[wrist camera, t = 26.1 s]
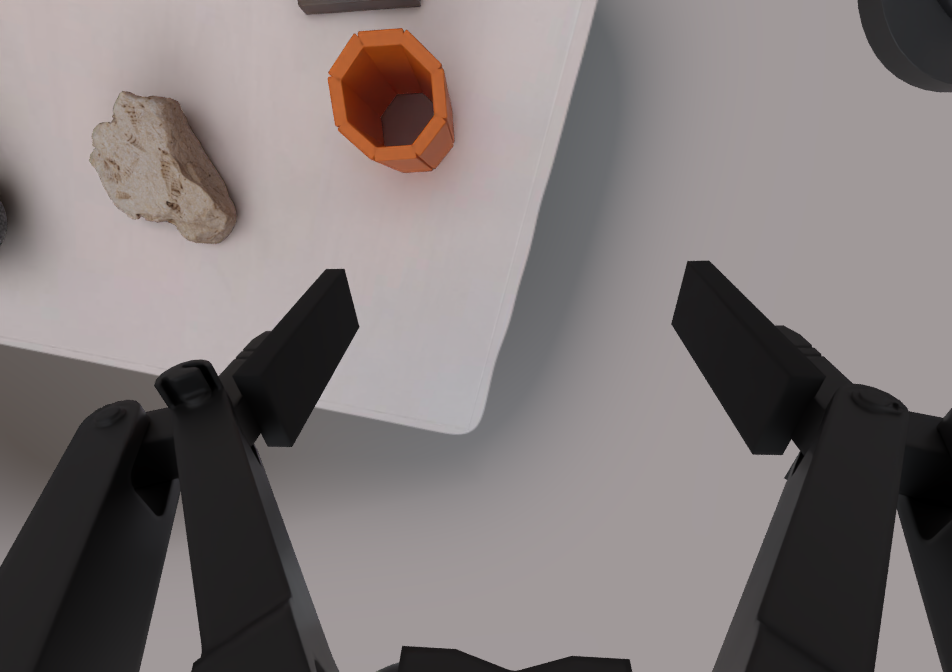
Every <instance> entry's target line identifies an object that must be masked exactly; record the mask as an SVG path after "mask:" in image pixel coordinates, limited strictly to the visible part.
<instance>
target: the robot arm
mask: <svg viewBox="0 0 952 672" xmlns="http://www.w3.org/2000/svg"><path fill="white" fill-rule="evenodd" d="M938 1H939V3H940V5H941V7H942V8H943V10H944V11H945V12H946V14H947V15H948V16H949V17H950V18H951V19H952V0H938ZM672 326H673V327H674V329H675V331H676V332H677V334H678V335H679V337H680V339H681V340H682V342H683V343H684V345H685V347H686V348H687V350H688V351H689V353H690V355H691V356H692V358H693V360H694V361H695V363H696V364H697V366H698V368H699V369H700V371H701V372H702V374H703V376H704V377H705V379H706V380H707V382H708V384H709V385H710V387H711V388H712V390H713V392H714V393H715V395H716V396H717V398H718V400H719V401H720V403H721V404H722V406H723V407H724V409H725V411H726V412H727V414H728V416H729V417H730V419H731V420H732V422H733V424H734V425H735V427H736V428H737V430H738V432H739V433H740V435H741V437H742V438H743V440H744V441H745V443H746V444H747V446H748V447H749V449H750V451H751V453H752V454H756V455H760V454H761V455H783V453H784V451H785V449H786V448H787V446H788V444H789V442H790V441H791V439H792V440H793V441H794V443H795V444H796V446H797V447H798V448H799V450H800V452H799V454H798V456H797V457H796V459H795V461H794V463H793V464H792V466H791V468H790V470H789V471H788V473H787V474H786V476H785V479H787V482H786V484H785V487H784V489H783V492H782V494H781V497H780V500H779V502H778V505H777V507H776V510H775V512H774V515H773V517H772V520H771V523H770V525H769V528H768V531H767V533H766V535H765V538H764V540H763V543H762V546H761V548H760V551H759V553H758V556H757V558H756V561H755V563H754V566H753V569H752V572H751V574H750V576H749V579H748V581H747V584H746V587H745V589H744V592H743V594H742V597H741V599H740V602H739V604H738V607H737V609H736V612H735V615H734V617H733V620H732V622H731V625H730V627H729V630H728V632H727V635H726V638H725V640H724V643H723V645H722V648H721V650H720V653H719V655H718V658H717V661H716V663H715V666H714V668H713V671H712V672H874V668H875V661H876V654H877V646H878V639H879V632H880V625H881V618H882V610H883V603H884V596H885V588H886V581H887V574H888V567H889V560H890V552H891V544H892V538H893V531H894V523H895V515H896V509H897V511H898V514H899V518H900V521H901V525H902V529H903V532H904V536H905V539H906V543H907V546H908V550H909V553H910V557H911V560H912V564H913V567H914V571H915V574H916V578H917V581H918V585H919V588H920V592H921V596H922V599H923V602H924V606H925V610H926V613H927V617H928V620H929V624H930V627H931V631H932V634H933V638H934V641H935V645H936V648H937V652H938V655H939V659H940V663H941V666H942V670H943V672H952V408H951V410H950V411H949V412H948V413H947V414H946V416H945V417H944V418H941V417H935V416H930V415H925V414H920V413H914V412H910V411H908V409H907V407H906V406H905V405H904V404H903V403H902V402H901V401H900V400H898V399H896V398H895V397H893V396H892V395H890V394H889V393H886V392H884V391H881V390H879V389H877V388H874V387H870V386H866V385H861V384H853V383H852V382H851V381H849V380H848V379H847V378H846V377H845V376H844V375H843V374H842V373H841V372H840V371H839V370H838V369H836V367H834V366H833V365H832V364H831V363H830V362H829V361H828V360H827V359H826V358H825V357H823V356H821V353H819V352H818V351H817V350H816V349H815V348H812V345H811V344H810V343H809V342H808V341H807V340H806V339H804V338H803V337H802V336H801V335H800V334H798V333H796V332H794V331H792V330H791V329H789V328H787V327H785V326H775V325H774V324H773V323H772V322H771V321H770V320H769V319H768V318H766V316H764V314H763V313H762V312H760V311H759V310H758V309H757V308H756V307H755V306H754V305H753V304H752V303H751V302H750V301H749V300H748V299H747V298H746V297H745V296H744V295H743V294H742V293H741V292H740V291H739V290H738V289H737V288H736V287H735V286H734V285H733V284H732V283H731V282H730V281H729V280H728V279H727V278H726V277H725V276H724V275H723V274H722V273H721V272H720V271H719V270H718V269H717V268H716V267H715V266H714V265H713V264H712V263H711V262H710V261H688V262H687V265H686V269H685V273H684V277H683V281H682V285H681V289H680V292H679V296H678V300H677V304H676V308H675V312H674V316H673V320H672ZM358 329H359V324H358V320H357V316H356V312H355V308H354V304H353V300H352V296H351V293H350V289H349V285H348V281H347V277H346V273H345V269H326V270H325V271H324V272H323V273H322V274H321V275H320V277H319V278H318V279H317V280H316V281H315V282H314V283H313V284H312V286H311V287H310V288H309V289H308V290H307V291H306V292H305V294H304V295H303V296H302V297H301V298H300V299H299V300H298V302H297V303H296V304H295V305H294V306H293V307H292V308H291V309H290V311H289V312H288V313H287V314H286V315H285V316H284V317H283V319H282V320H281V321H280V322H279V323H278V324H277V325H276V327H275V328H274V329H273V330H272V331H265V332H264V333H262V334H261V335H259V336H257V337H256V338H254V339H253V340H252V341H251V342H250V343H249V344H248V345H247V346H246V347H245V348H244V349H243V351H241V352H240V354H239V355H238V356H237V357H236V359H234V360H233V361H232V362H231V363H230V364H229V366H228V367H227V368H226V369H225V370H224V371H223V372H222V373H221V374H220V375H219V376H218V375H217V373H216V371H215V369H214V368H213V366H212V364H211V363H210V362H209V361H206V360H191V361H187V362H184V363H180V364H178V365H176V366H174V367H171V368H170V369H168V370H167V371H165V372H164V373H162V374H161V375H160V376H159V377H158V378H157V379H156V382H155V385H154V386H155V388H156V389H157V391H158V392H159V394H160V395H161V397H162V398H163V400H164V401H165V403H166V404H167V406H168V408H163V409H158V410H153V411H149V412H145V410H144V409H143V408H142V406H141V405H140V404H139V403H138V402H137V401H134V400H124V401H118V402H115V403H112V404H108V405H105V406H103V407H102V408H99V409H98V410H96V411H95V412H93V413H92V414H91V415H90V416H88V417H87V418H86V419H85V420H84V421H83V422H82V423H81V425H80V426H79V428H78V430H77V431H76V433H75V435H74V437H73V439H72V440H71V442H70V444H69V446H68V447H67V449H66V451H65V453H64V454H63V456H62V458H61V460H60V462H59V463H58V465H57V467H56V469H55V470H54V472H53V474H52V476H51V478H50V480H49V481H48V483H47V485H46V486H45V488H44V490H43V492H42V494H41V496H40V497H39V499H38V501H37V502H36V504H35V506H34V508H33V510H32V511H31V513H30V515H29V517H28V518H27V520H26V522H25V524H24V526H23V527H22V529H21V531H20V533H19V534H18V536H17V538H16V540H15V542H14V543H13V545H12V547H11V549H10V550H9V552H8V554H7V556H6V558H5V559H4V561H3V563H2V565H1V567H0V672H139V670H140V666H141V661H142V657H143V653H144V648H145V644H146V639H147V635H148V631H149V626H150V621H151V618H152V613H153V609H154V605H155V600H156V596H157V591H158V587H159V583H160V578H161V574H162V569H163V565H164V561H165V557H166V552H167V548H168V543H169V539H170V535H171V530H172V526H173V522H174V517H175V513H176V508H177V504H178V500H179V495H180V491H181V495H182V504H183V511H184V518H185V526H186V533H187V541H188V548H189V556H190V562H191V570H192V578H193V585H194V592H195V600H196V607H197V615H198V622H199V630H200V637H201V645H202V654H201V658H199V659H198V660H197V661H195V662H194V663H193V667H192V671H191V672H339V670H338V668H337V666H336V664H335V661H334V659H333V657H332V654H331V652H330V649H329V647H328V643H327V641H326V638H325V635H324V633H323V630H322V627H321V624H320V621H319V619H318V616H317V613H316V610H315V608H314V605H313V602H312V599H311V597H310V594H309V591H308V588H307V586H306V583H305V580H304V577H303V575H302V572H301V569H300V566H299V563H298V561H297V558H296V555H295V552H294V550H293V547H292V544H291V541H290V539H289V536H288V533H287V530H286V527H285V525H284V522H283V519H282V516H281V514H280V511H279V508H278V505H277V502H276V500H275V497H274V494H273V491H272V489H271V486H270V483H269V481H268V478H267V475H266V472H265V469H264V466H263V464H262V461H261V458H260V456H259V453H258V450H257V448H256V447H255V445H254V442H255V441H256V439H257V438H258V436H259V435H260V433H261V434H262V436H263V438H264V440H265V442H266V444H267V446H269V447H292V446H293V444H294V443H295V441H296V439H297V437H298V435H299V434H300V432H301V430H302V428H303V426H304V424H305V423H306V421H307V419H308V418H309V416H310V414H311V412H312V410H313V409H314V407H315V405H316V403H317V402H318V400H319V398H320V396H321V394H322V393H323V391H324V389H325V387H326V386H327V384H328V382H329V380H330V378H331V377H332V375H333V373H334V371H335V369H336V368H337V366H338V364H339V362H340V361H341V359H342V357H343V355H344V353H345V352H346V350H347V348H348V346H349V345H350V343H351V341H352V339H353V337H354V336H355V334H356V332H357V330H358ZM377 672H632V669H631V664H630V660H629V659H615V658H598V657H581V656H570V657H566V658H563V659H559V660H555V661H552V662H548V663H544V664H541V665H537V666H533V667H530V668H526V669H522V670H518V671H511V670H508V669H505V668H502V667H500V666H497V665H495V664H492V663H490V662H487V661H484V660H482V659H480V658H477V657H474V656H472V655H469V654H467V653H464V652H462V651H459V650H457V649H444V648H427V647H409V646H402V650H401V656H400V662H399V663H396V664H392V665H390V666H387V667H385V668H383V669H381V670H379V671H377Z"/></svg>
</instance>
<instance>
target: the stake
mask: <svg viewBox="0 0 952 672" xmlns="http://www.w3.org/2000/svg"><path fill="white" fill-rule="evenodd" d="M298 5H299V7H300V8H301V9H302V10H303V11H304V12H305V14H321V13H334V12H348V11H362V10H375V9H389V8H403V7H416V6H420V0H298Z"/></svg>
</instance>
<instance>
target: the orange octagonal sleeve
mask: <svg viewBox="0 0 952 672" xmlns="http://www.w3.org/2000/svg"><path fill="white" fill-rule="evenodd" d="M328 73H329V74H330V75H331V76H332V77H328V84H329V90H330V96H331V102H332V109H333V115H334V121H335V126H337V127H339V128H338V131H339V132H340V133H341V134H343V135H344V136H345V137H346V138H347V139H348V140H349V141H350V142H352V143H353V144H354V145H355V146H356V147H357V148H358V149H359V150H361V151H362V152H363V153H364V154H365V155H366V156H367V157H368V158H370V159H371V160H373V161H376V162H378V163H381V164H383V165H386V166H388V167H390V168H393V169H395V170H398V171H400V172H403V173H409V172H424V171H432V170H433V169H436V167H437V166H438V165H439V164H440V162H441V161H442V160H443V158H444V157H445V156H446V155H447V153H448V152H449V151H450V149H451V148H452V147H453V143H454V128H453V115H452V107H451V102H450V97H449V93H448V88H447V83H446V78H445V73H444V69H442V64H441V63H440V62H439V61H438V60H437V59H436V58H435V57H434V56H433V55H432V54H431V53H430V52H429V51H428V50H427V49H426V48H425V47H424V46H423V45H422V44H421V43H420V42H419V41H418V40H417V39H416V38H415V37H414V36H413V35H412V34H411V33H410V32H409V31H408V30H406V31H405V32H404V30H403V29H402V28H398V29H385V30H372V31H359V32H358V36H357V35H356V34H353V36H352V37H351V39H350V40H349V42H348V43H347V45H346V46H345V48H344V49H343V51H342V52H341V54H340V55H339V57H338V58H337V60H336V62H335V63H334V65H333V66H332V68H331V69H330V71H329V72H328ZM413 93H423V94H424V95H425V96H426V97H427V98H428V99H429V100H430V101H432V102H433V109H434V116H433V117H432V119H431V120H430V121H429V123H428V124H427V125H426V127H425V128H424V129H423V131H422V132H421V133H420V134H419V136H418V137H417V138H416V140H415V141H414V142H413V144H412V145H401V146H387V147H386V146H385V145H384V137H383V129H382V121H381V116H382V115H383V113H384V112H385V111H386V109H387V108H388V106H389V105H390V104H391V102H392V101H393V99H394V98H395V97H396V95H400V94H413ZM432 168H433V169H432Z"/></svg>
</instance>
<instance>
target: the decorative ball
mask: <svg viewBox="0 0 952 672" xmlns="http://www.w3.org/2000/svg"><path fill="white" fill-rule="evenodd" d="M6 231H7V217H6V213H5V209H4V207H3V204H2V202H1V201H0V245H1V244H2V242H3V240H4V238H5V235H6Z"/></svg>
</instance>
